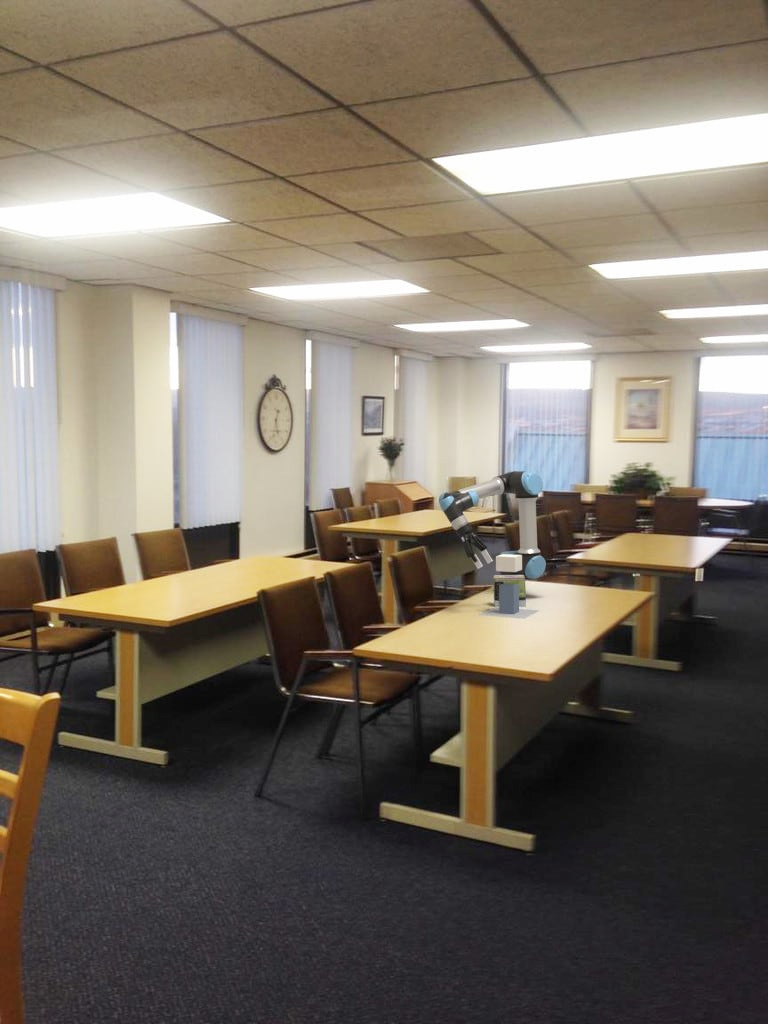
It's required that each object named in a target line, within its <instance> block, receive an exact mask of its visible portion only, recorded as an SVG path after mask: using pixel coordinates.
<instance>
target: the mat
mask: <svg viewBox="0 0 768 1024" xmlns="http://www.w3.org/2000/svg"><path fill="white" fill-rule="evenodd" d="M540 611H541V610H540V609H539V610H537V609H529V608H528V609H526V608H525V609H524V608H519V612H518V613H516V614H502V613H499V607H495V606H494V607H492V608H491V609H488V610H486V611H483V612H481V613H479V614H478V616H485V617H486V616H487V617H499V618H511V619H526V618H528V617H530V616H533V615H534V614H537V613H538V612H540Z"/></svg>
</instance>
